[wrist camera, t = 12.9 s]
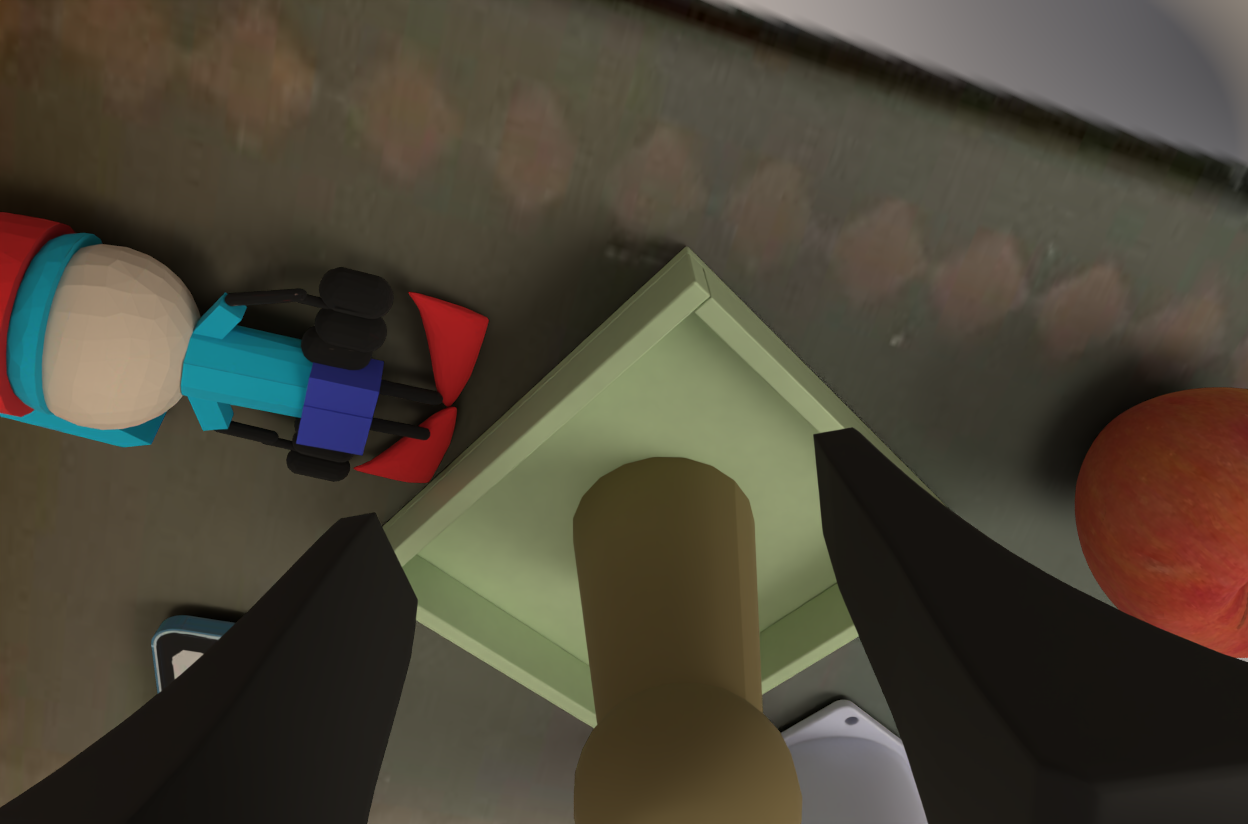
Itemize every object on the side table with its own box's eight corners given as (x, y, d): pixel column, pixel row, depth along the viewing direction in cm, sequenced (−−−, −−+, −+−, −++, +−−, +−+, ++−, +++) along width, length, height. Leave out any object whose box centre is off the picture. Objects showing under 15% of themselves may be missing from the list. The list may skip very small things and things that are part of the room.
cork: (619, 617, 28) (624, 965, 18) (539, 497, 25) (496, 839, 15) (779, 562, 26) (871, 907, 17) (714, 429, 24) (782, 758, 14)
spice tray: (951, 511, 26) (981, 562, 24) (647, 706, 31) (650, 763, 29) (686, 244, 21) (695, 280, 19) (376, 531, 26) (355, 584, 24)
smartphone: (176, 847, 35) (146, 624, 27) (186, 826, 35) (160, 603, 27) (344, 866, 36) (364, 657, 28) (350, 845, 36) (371, 636, 28)
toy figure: (496, 264, 23) (-148, 84, 18) (499, 363, 19) (-317, 172, 14) (433, 449, 27) (-101, 347, 22) (427, 560, 23) (-221, 469, 18)
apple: (1324, 383, 24) (1611, 567, 17) (1154, 552, 27) (1335, 760, 20) (1132, 302, 22) (1364, 469, 15) (979, 492, 26) (1112, 697, 19)
